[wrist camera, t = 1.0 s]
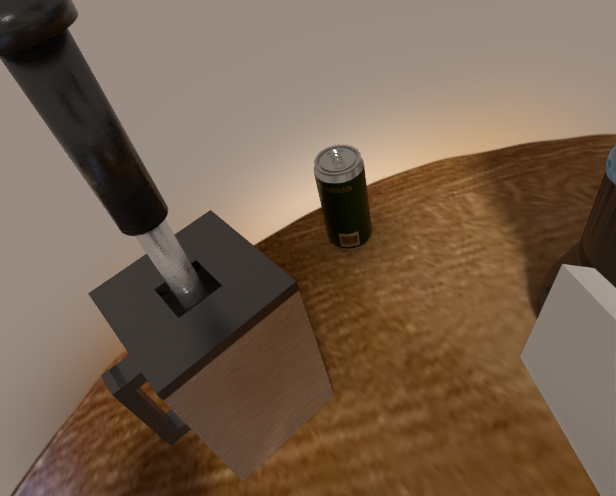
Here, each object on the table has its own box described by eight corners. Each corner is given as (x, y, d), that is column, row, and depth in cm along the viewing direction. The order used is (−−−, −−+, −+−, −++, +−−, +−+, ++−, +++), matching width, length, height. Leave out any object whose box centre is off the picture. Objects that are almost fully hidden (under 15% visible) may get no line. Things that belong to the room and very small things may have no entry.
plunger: (236, 291, 42) (62, -55, 22) (291, 344, 38) (134, -34, 17) (162, 349, 40) (-115, 15, 19) (211, 414, 35) (-88, 62, 14)
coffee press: (265, 327, 51) (210, 210, 38) (334, 395, 44) (296, 281, 31) (160, 415, 46) (55, 315, 33) (219, 504, 40) (117, 425, 27)
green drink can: (377, 246, 56) (368, 167, 47) (333, 257, 56) (317, 181, 47) (366, 216, 59) (356, 138, 50) (325, 226, 59) (308, 150, 51)
